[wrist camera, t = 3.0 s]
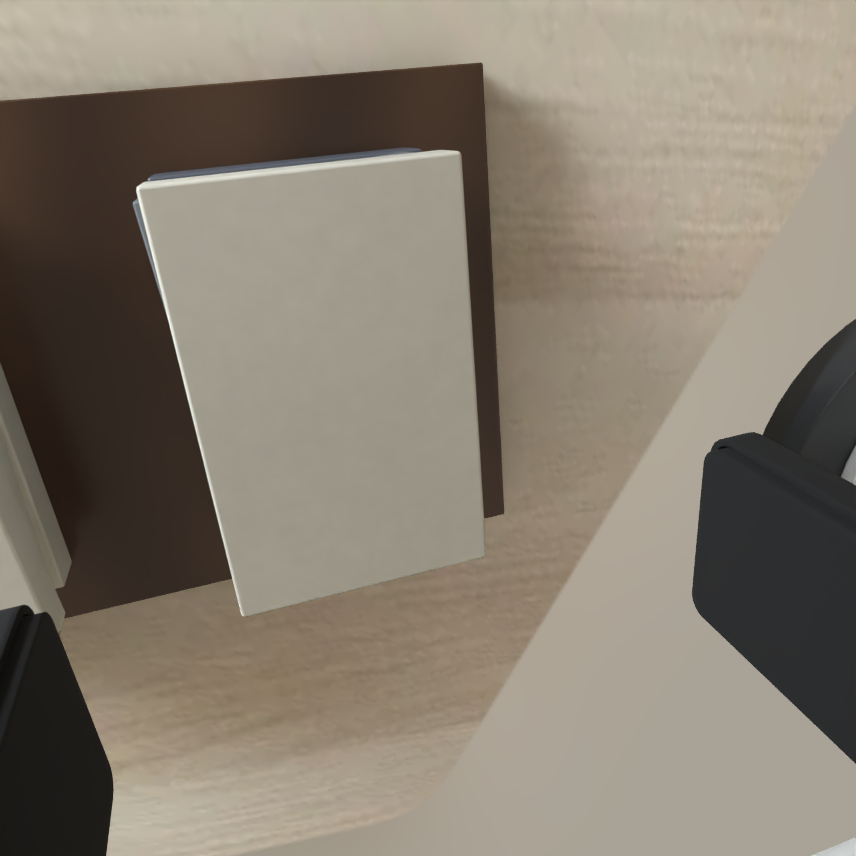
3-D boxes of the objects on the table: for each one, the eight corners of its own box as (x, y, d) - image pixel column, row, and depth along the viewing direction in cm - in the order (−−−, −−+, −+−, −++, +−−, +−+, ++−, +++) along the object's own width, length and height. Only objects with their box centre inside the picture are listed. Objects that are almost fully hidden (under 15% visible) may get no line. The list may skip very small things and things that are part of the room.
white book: (443, 149, 17) (462, 150, 16) (470, 533, 21) (487, 557, 20) (140, 182, 15) (134, 186, 14) (240, 589, 20) (242, 619, 18)
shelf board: (469, 66, 21) (483, 62, 20) (493, 499, 27) (504, 514, 26) (-552, 147, 15) (-609, 148, 14) (-229, 666, 22) (-252, 694, 20)
